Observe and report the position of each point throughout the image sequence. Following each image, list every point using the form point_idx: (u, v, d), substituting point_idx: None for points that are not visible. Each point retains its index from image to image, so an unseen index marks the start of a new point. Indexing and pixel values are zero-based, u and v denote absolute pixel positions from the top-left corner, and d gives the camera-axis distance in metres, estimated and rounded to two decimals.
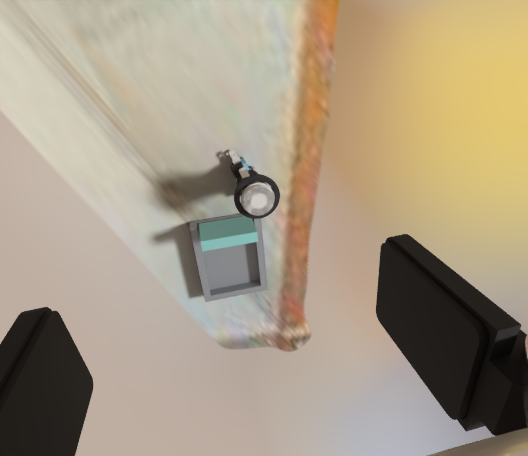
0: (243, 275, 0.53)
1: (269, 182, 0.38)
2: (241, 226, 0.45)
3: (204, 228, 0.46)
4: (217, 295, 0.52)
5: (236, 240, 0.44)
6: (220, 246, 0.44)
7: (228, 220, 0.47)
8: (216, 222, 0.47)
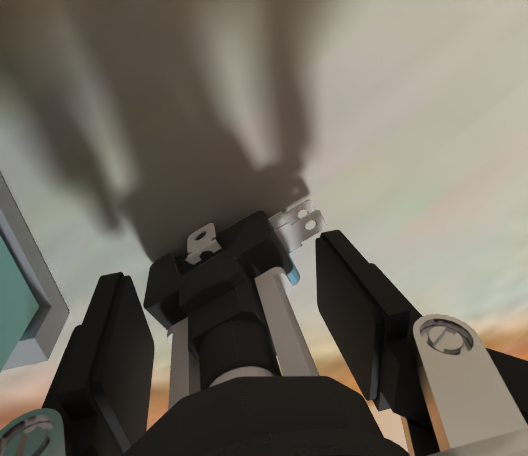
0: None
1: None
2: None
3: None
4: None
5: None
6: None
7: None
8: None
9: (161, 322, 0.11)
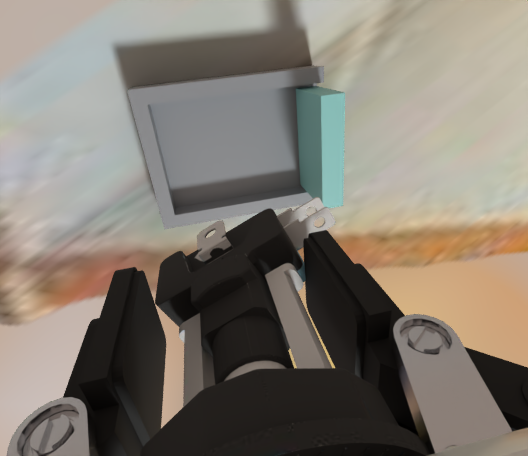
0: (188, 175, 0.26)
1: None
2: None
3: None
4: (148, 122, 0.22)
5: (332, 168, 0.22)
6: (325, 136, 0.21)
7: None
8: None
9: (173, 318, 0.11)
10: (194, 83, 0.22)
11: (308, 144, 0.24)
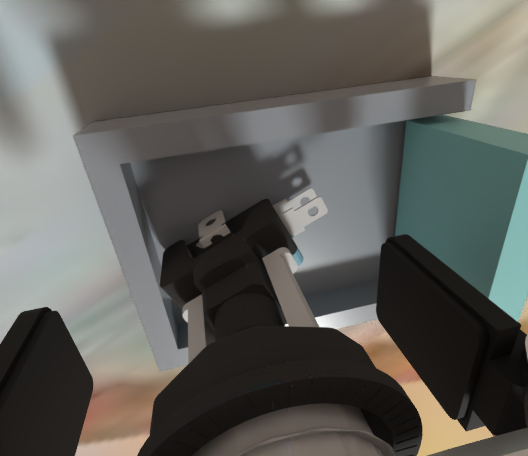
0: None
1: None
2: None
3: None
4: (123, 197, 0.11)
5: (509, 293, 0.11)
6: (513, 236, 0.09)
7: None
8: None
9: (176, 301, 0.11)
10: (220, 118, 0.10)
11: (439, 229, 0.12)
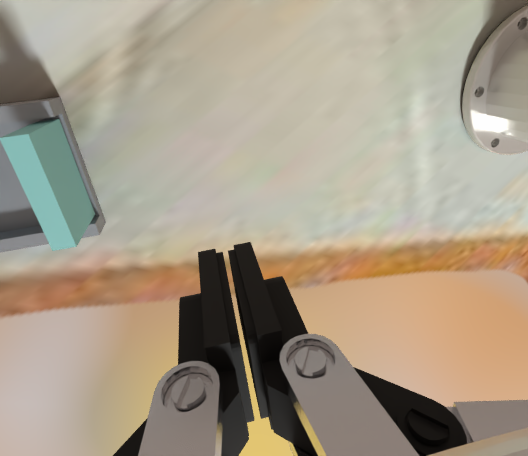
0: None
1: None
2: (76, 208, 0.23)
3: (54, 133, 0.22)
4: None
5: (47, 210, 0.21)
6: (23, 178, 0.20)
7: (78, 177, 0.25)
8: (69, 155, 0.24)
9: None
10: None
11: None
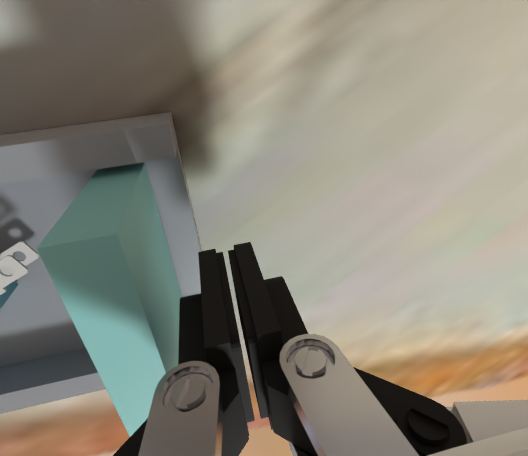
0: None
1: None
2: None
3: (144, 200, 0.10)
4: None
5: (140, 391, 0.09)
6: (93, 334, 0.08)
7: (172, 271, 0.13)
8: (161, 233, 0.12)
9: None
10: None
11: None
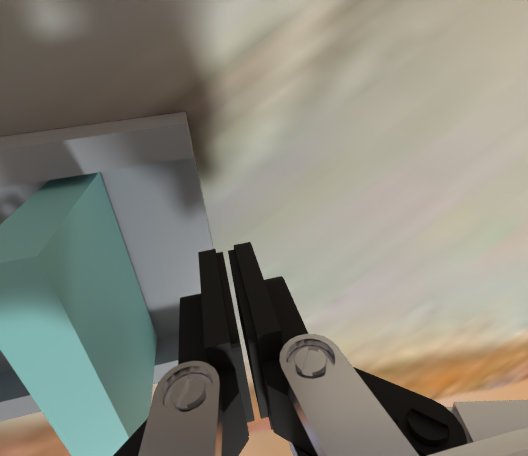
0: None
1: None
2: (137, 364, 0.11)
3: (93, 213, 0.10)
4: None
5: (82, 416, 0.08)
6: (23, 360, 0.07)
7: (133, 284, 0.12)
8: (119, 245, 0.11)
9: None
10: None
11: None
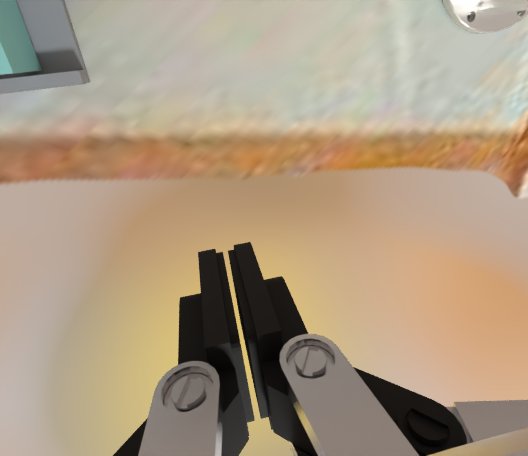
0: None
1: None
2: (16, 44, 0.24)
3: None
4: None
5: None
6: None
7: (21, 22, 0.25)
8: None
9: None
10: None
11: None
